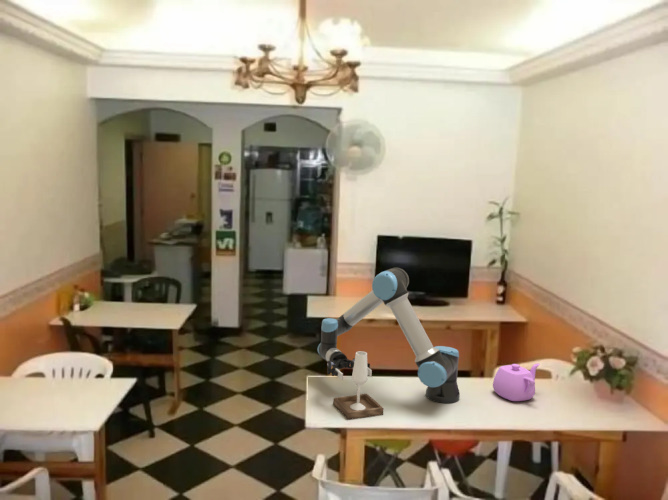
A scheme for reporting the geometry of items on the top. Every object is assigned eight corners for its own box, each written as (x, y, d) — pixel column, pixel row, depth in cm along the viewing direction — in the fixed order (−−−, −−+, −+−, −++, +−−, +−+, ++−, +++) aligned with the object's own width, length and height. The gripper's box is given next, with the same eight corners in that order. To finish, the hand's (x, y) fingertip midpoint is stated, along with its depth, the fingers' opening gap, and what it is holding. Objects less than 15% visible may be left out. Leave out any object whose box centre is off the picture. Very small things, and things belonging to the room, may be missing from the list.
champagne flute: (348, 409, 258) (352, 354, 254) (351, 403, 265) (354, 349, 261) (364, 411, 257) (368, 356, 253) (366, 405, 263) (370, 351, 260)
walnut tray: (366, 400, 271) (366, 393, 271) (383, 414, 257) (383, 408, 256) (333, 404, 265) (333, 397, 264) (348, 419, 250) (348, 413, 250)
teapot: (517, 409, 268) (520, 376, 266) (486, 391, 287) (489, 360, 285) (556, 402, 278) (559, 370, 275) (524, 385, 297) (527, 355, 294)
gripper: (360, 363, 285) (382, 380, 266) (310, 369, 275) (329, 386, 256) (361, 348, 284) (383, 363, 265) (311, 353, 274) (329, 369, 255)
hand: (356, 375), depth 260 cm, fingers open, 13 cm apart
